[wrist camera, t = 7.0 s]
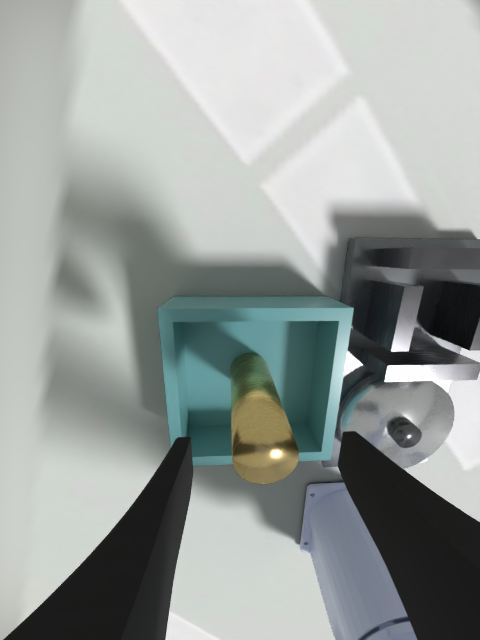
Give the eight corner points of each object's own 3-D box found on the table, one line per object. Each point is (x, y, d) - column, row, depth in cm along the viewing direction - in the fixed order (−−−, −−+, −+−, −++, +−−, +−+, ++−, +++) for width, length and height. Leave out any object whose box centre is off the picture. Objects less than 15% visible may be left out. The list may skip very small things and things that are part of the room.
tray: (311, 421, 21) (330, 459, 17) (182, 426, 20) (172, 466, 16) (326, 296, 17) (353, 308, 14) (173, 296, 17) (157, 308, 13)
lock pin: (266, 387, 18) (294, 484, 11) (229, 386, 18) (230, 484, 10) (270, 353, 17) (303, 431, 10) (231, 351, 17) (234, 430, 10)
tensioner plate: (418, 453, 23) (457, 494, 19) (319, 457, 22) (339, 500, 18) (478, 240, 17) (552, 236, 13) (348, 238, 16) (386, 233, 13)
